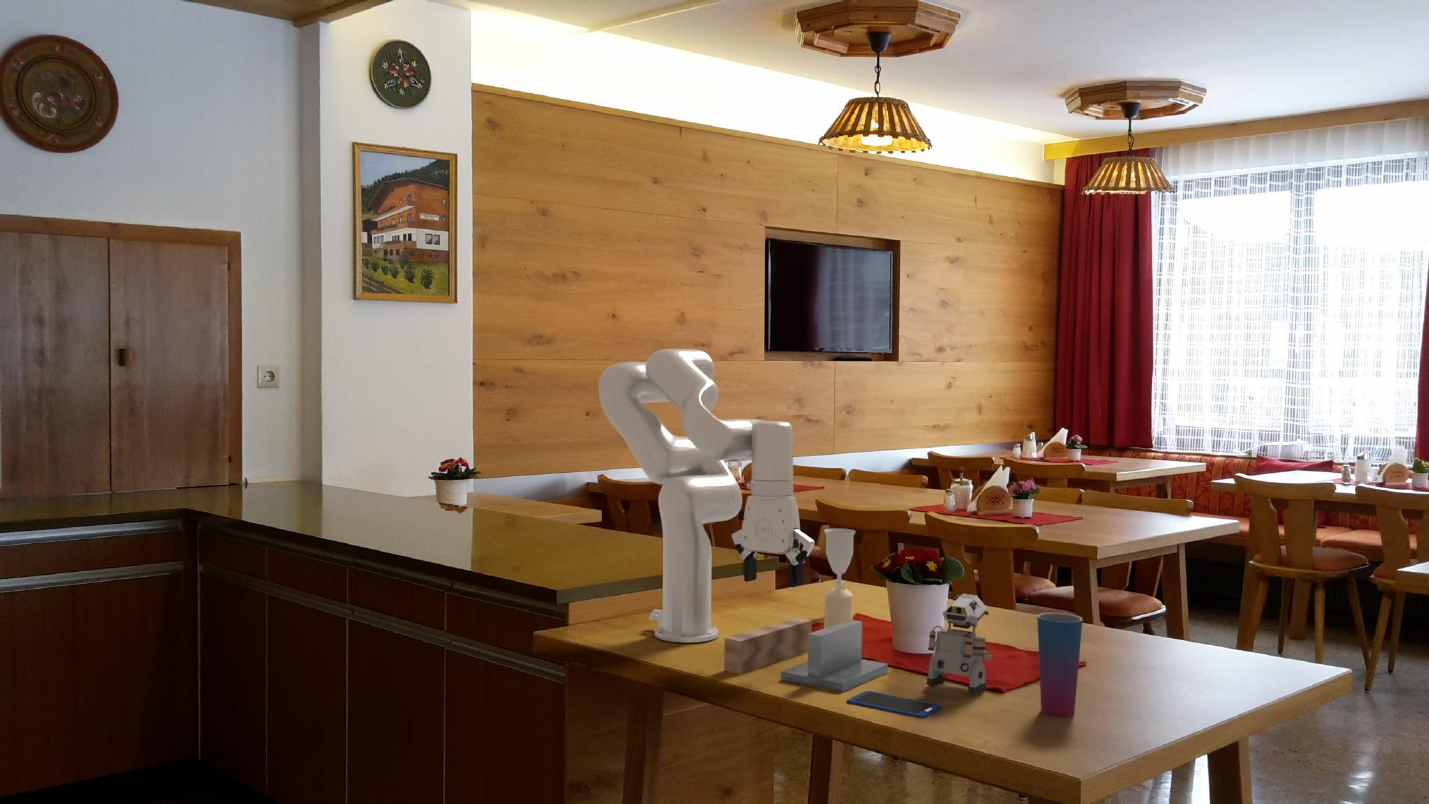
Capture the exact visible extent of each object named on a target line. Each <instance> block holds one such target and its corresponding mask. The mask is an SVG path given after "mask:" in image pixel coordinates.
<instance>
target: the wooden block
mask: <svg viewBox="0 0 1429 804" xmlns="http://www.w3.org/2000/svg"><path fill="white" fill-rule="evenodd" d="M812 632H813V620H812V619H806V618H802V617H801V618H800V617H794V618H790V619H786V620H783V621H780V622H777V623H773V624H769V625H766V626H762V627H758V628H755V629H752V630H748V631H746V632H745V631H744V632H742V633H738V634H735V635H731V636H727V637H724V668H723V669H724V670H725V672H729V673H733V672H735V673H734V674H739V675H741V674H745V673H747V672H751V671H753V670H754V671H755V670H756V669H760V668H763V667H766V666H769V665H772V664H775V663H777V662H781V661H784V660H787V659H790V658H793V657H796V656H799V655H802V654H805V653H808V634H810V633H812Z"/></svg>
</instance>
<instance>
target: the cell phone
mask: <svg viewBox="0 0 1429 804" xmlns="http://www.w3.org/2000/svg"><path fill="white" fill-rule="evenodd" d="M846 703H847V704H849V705H855V706H858V707H859V706H860V707H864V708H868V709H873V710H878V711H883V712H888V713H894V714H897V715H898V714H899V715H903V716H908V717H913V718H917V719H918V718H919V719H927V718H928V717H930V716H933V715H934V714H935V713H937V712H939V711H941V710H942V709H943V706H942V705H941V704H938V703H934V702H929V701H923V700H919V699H918V700H917V699H913V698H909V697H903V696H899V695H894V694H893V695H892V694H887V693H882V692H877V691H873V690H864V691H863V692H860V693H858V694H856V695H854V696H851V697H850V698H848V699H847V700H846Z"/></svg>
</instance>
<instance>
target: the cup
mask: <svg viewBox="0 0 1429 804" xmlns="http://www.w3.org/2000/svg"><path fill="white" fill-rule="evenodd" d="M1036 619H1037V637H1038V638H1037V640H1038V643H1037V644H1038V664H1039V668H1038V669H1039V690H1040V711H1041V712H1042V713H1043V714H1045V715H1047V716H1053V717H1059V718H1063V717H1064V718H1066V717H1067V718H1068V717H1072V716H1074V715H1075V712H1076V711H1075V710H1076V699H1077V688H1078V676H1079V666H1080V665H1079V664H1080V654H1081V642H1082V631H1083V630H1082V628H1083V617H1082V616H1080V615H1076V614H1072V613H1064V612H1042V613H1039V614H1038V615H1037V617H1036Z"/></svg>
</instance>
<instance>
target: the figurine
mask: <svg viewBox="0 0 1429 804" xmlns="http://www.w3.org/2000/svg"><path fill="white" fill-rule="evenodd" d="M942 615H943V619H944V620H945V621H947V624H948V626H947V629H946V630H944V629H943V628H942V627H941V626H940V625H936V626H934V627H933V629H932V630H930V632H929V639H928V647H927V650H928V651H933V653H932V655H931V656H930V659H929V665H928V671H927V673H928V674H927V675H928V676H927V678H926V685H927V686H928V687H931V688H932V687H933V688H935V687H937V686H938V685H943V684H944V683H945V681H946V674H945V673H947V674H952V675H957V676H965V677H969V686H968V687H967V693H968V694H969V695H971V696H974V697H975V696H977V695H979V693H981V694H982V693H983V692H984V693H985V691H986V690H987V682H986V670H985V665H984V662H982V661H983V659H984V661H985V662H988V663H989V662H991V661H992V658H991V657H992V656H993V653H989V652H988V647H987V646H986V638H985V637H982V636H978V635H976V628H977V626H978V622H980V620H981V619H982V618H983V617H984V616H985V615H986V616H988V615H989V611H987V606H986V605H985V603H984V602H983V601H982V600H981V599H980V598H979V597H978V595H976V594H969V593H962V594H957V595H956V596H954V597H953V601H952V602H951V603H950V604H949V605H948V606H947V607H946V608H945V609H944V610H943V611H942ZM951 627H953V628H951ZM971 627H972V631H971V630H970V631H969V629H970V628H971ZM936 628H939V629H940V630H937V631H936V630H935V629H936ZM956 628H960V629H956ZM963 629H967V630H963Z"/></svg>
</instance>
